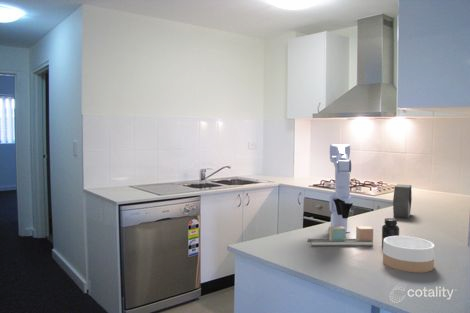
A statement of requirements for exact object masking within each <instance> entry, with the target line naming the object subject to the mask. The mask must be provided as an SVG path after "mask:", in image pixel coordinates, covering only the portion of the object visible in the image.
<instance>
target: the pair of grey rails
mask: <svg viewBox="0 0 470 313" xmlns="http://www.w3.org/2000/svg"><path fill="white" fill-rule="evenodd" d="M307 242H310V246H311V247H373V245H374V240H373V241H356V238H345V241H329V238H307Z"/></svg>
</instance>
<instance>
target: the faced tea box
mask: <svg viewBox="0 0 470 313" xmlns="http://www.w3.org/2000/svg"><path fill="white" fill-rule="evenodd" d="M355 232H356V233H355V239H356V241H373V242H374V228H373V227H371V226H370V225H369V226H365V225H364V226H359V225H358V226H356V231H355Z"/></svg>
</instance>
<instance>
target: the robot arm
mask: <svg viewBox="0 0 470 313" xmlns="http://www.w3.org/2000/svg"><path fill="white" fill-rule="evenodd" d="M350 154H351V145H350V144H349V143H342V144H341V143H339V144H337V143H336V144H335V143H331V144H329V160H330V162H331V163H333V166H334V176H335V178H334V180H335V184H334V185H335V190H334V191H335V192H334V193H332V194H331V195H330V197H329V211H330V212H331V214H330V226H343V227H344V228H345V229H346V234H347V233H351V231H350V230H349V229H348V219H349V214H350V212H351V211H352V207H353V202H352V201H351V199H353V196H351V195H350V192H351V190H350V188H351V184H350V183H351V172H352V160H351V159H350V156H351V155H350Z"/></svg>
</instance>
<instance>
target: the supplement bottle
mask: <svg viewBox="0 0 470 313" xmlns="http://www.w3.org/2000/svg"><path fill="white" fill-rule="evenodd" d="M389 236H400V227H399V226H398V219H397V218H395V217H393V218H392V217H387V218H384V224H383V225H382V227H381V246H382V248H383V240H384V238H386V237H389Z"/></svg>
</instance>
